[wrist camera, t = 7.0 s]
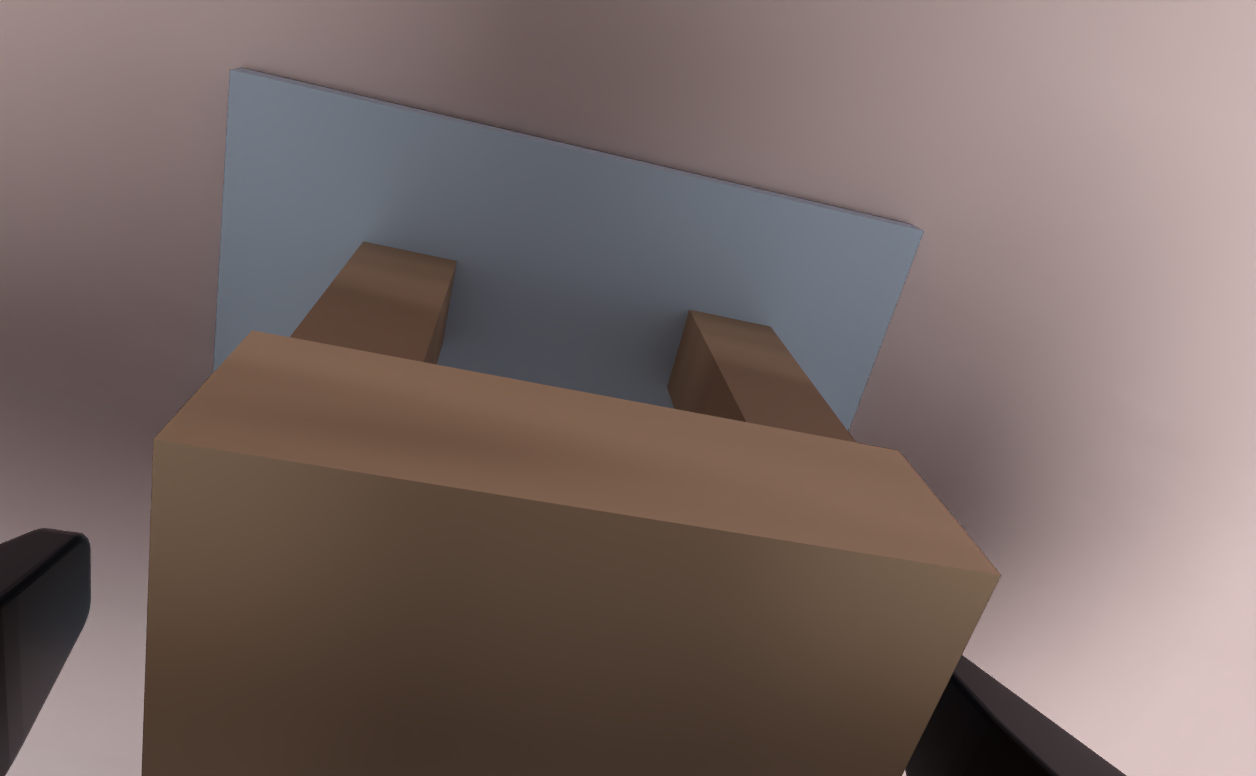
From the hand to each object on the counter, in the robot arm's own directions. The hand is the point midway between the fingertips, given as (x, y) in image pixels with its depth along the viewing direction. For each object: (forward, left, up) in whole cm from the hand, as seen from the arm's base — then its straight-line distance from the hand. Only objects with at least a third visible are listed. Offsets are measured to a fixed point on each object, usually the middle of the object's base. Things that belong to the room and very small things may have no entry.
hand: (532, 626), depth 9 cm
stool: (0, 0, -4) cm, 4 cm away
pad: (0, 0, -4) cm, 4 cm away
